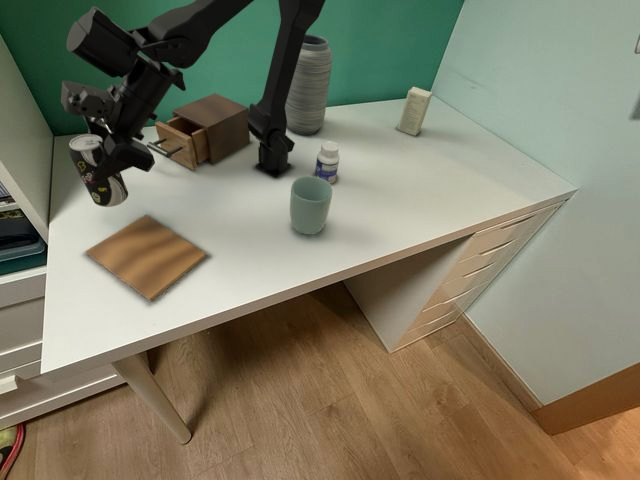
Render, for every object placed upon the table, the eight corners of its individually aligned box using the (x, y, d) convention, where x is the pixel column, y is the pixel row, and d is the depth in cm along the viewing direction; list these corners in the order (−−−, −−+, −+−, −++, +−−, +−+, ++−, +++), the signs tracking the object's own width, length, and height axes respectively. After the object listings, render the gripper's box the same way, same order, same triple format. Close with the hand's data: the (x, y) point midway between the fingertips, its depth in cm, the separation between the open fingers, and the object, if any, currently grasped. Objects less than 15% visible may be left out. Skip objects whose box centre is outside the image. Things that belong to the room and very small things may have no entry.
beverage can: (132, 204, 60) (109, 147, 51) (97, 213, 57) (66, 154, 49) (126, 186, 63) (103, 129, 54) (92, 194, 61) (62, 135, 52)
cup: (321, 243, 65) (328, 205, 58) (283, 235, 65) (286, 196, 58) (328, 218, 70) (336, 180, 63) (293, 210, 71) (297, 171, 63)
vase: (275, 127, 94) (277, 37, 78) (298, 113, 101) (304, 28, 85) (309, 141, 91) (318, 51, 74) (330, 127, 98) (343, 41, 82)
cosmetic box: (419, 131, 103) (434, 92, 94) (414, 136, 100) (429, 97, 92) (401, 124, 105) (413, 85, 96) (396, 129, 102) (408, 90, 93)
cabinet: (212, 164, 78) (207, 127, 71) (179, 147, 82) (171, 110, 75) (250, 142, 87) (248, 107, 80) (218, 127, 90) (214, 92, 83)
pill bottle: (313, 170, 82) (317, 138, 75) (334, 171, 82) (340, 140, 76) (315, 183, 78) (319, 151, 72) (336, 184, 79) (343, 152, 72)
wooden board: (207, 256, 59) (206, 253, 59) (150, 301, 52) (149, 298, 51) (146, 217, 64) (145, 214, 63) (86, 254, 56) (85, 251, 56)
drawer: (177, 179, 72) (169, 147, 66) (146, 161, 75) (136, 130, 69) (231, 148, 82) (228, 119, 77) (202, 134, 85) (197, 105, 80)
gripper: (68, 38, 50) (20, 122, 52) (103, 87, 41) (42, 185, 43) (138, 83, 59) (94, 152, 62) (179, 131, 50) (125, 209, 53)
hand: (89, 172), depth 55 cm, fingers closed on beverage can, 5 cm apart
